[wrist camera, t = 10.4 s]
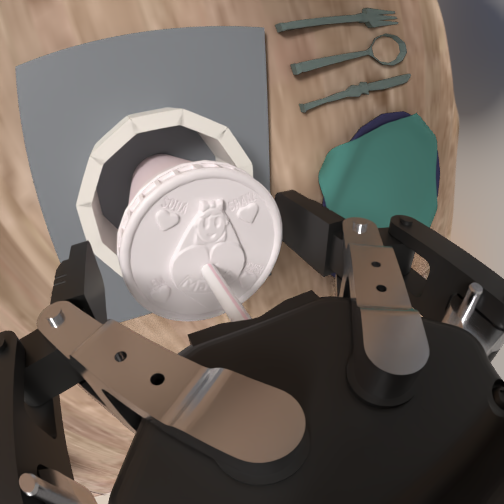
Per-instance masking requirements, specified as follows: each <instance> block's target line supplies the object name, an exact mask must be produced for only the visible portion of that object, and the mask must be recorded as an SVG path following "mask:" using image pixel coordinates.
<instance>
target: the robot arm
mask: <svg viewBox="0 0 504 504" xmlns="http://www.w3.org/2000/svg"><path fill="white" fill-rule="evenodd" d="M275 202H276V204H277V206H278V209H279V212H280V215H281V220H282V241H283V242H284V243H285V244H287V245H288V246H289V247H290V248H291V249H292V250H293V251H295V252H296V253H297V254H298V255H299V256H300V257H301V258H303V259H304V260H305V261H306V262H307V263H308V264H309V265H310V266H312V267H313V268H314V269H315V270H316V271H317V272H318V273H319V274H321V275H322V276H323V277H325V276H327V275H330V274H332V273H336V276H335V297H320V298H319V297H318V296H317V295H316V294H315V293H314V292H313V291H312V290H311V291H308V292H305V293H303V294H300V295H298V296H295V297H293V298H290V299H287V300H285V301H283V302H282V303H280V304H279V305H277V306H276V307H274V308H273V309H271V310H270V311H268V312H266V313H265V314H263V315H262V316H260V317H258V318H254V319H248V320H241V321H235V322H228V323H221V324H218V325H215V326H212V327H209V328H206V329H203V330H200V331H197V332H194V333H191V334H188V337H189V341H190V344H191V345H190V346H188V347H187V348H185V349H184V350H182V351H181V352H180V353H178V354H176V353H174V352H172V351H170V350H168V349H166V348H164V347H162V346H160V345H159V344H157V343H155V342H153V341H151V340H149V339H147V338H145V337H143V336H142V335H140V334H138V333H136V332H134V331H133V330H131V329H129V328H127V327H126V326H124V325H122V324H120V323H119V322H117V321H115V320H113V319H108V320H107V312H106V299H105V287H104V282H103V278H102V275H101V272H100V269H99V267H98V264H97V261H96V258H95V256H94V253H93V250H92V247H91V244H90V242H89V241H88V240H87V241H84V242H81V243H78V244H74V245H71V249H70V255H69V259H67V260H64V261H62V263H61V264H60V265H59V267H58V268H57V270H56V275H55V280H54V286H53V291H52V297H51V303H50V305H49V306H47V307H46V308H45V309H44V310H43V311H42V312H41V313H40V315H39V316H38V319H37V328H38V329H36V330H35V331H33V332H32V333H30V334H28V335H27V336H25V337H23V338H21V339H20V340H19V339H18V337H17V336H16V334H15V333H14V332H12V331H3V332H1V333H0V504H97V502H96V500H95V498H94V496H93V495H92V493H91V492H90V491H89V490H88V489H87V488H86V487H85V486H83V485H81V484H79V483H78V482H76V481H74V477H73V473H72V469H71V465H70V460H69V456H68V451H67V445H66V440H65V434H64V428H63V421H62V414H61V406H60V397H59V394H61V393H62V392H64V391H66V390H68V389H69V388H71V387H73V386H74V385H76V384H77V385H78V386H79V387H81V388H82V389H83V390H84V391H85V392H86V393H87V394H88V395H90V396H91V397H92V398H93V399H94V400H95V401H97V402H98V403H99V404H100V405H101V406H103V407H104V408H105V409H106V410H107V411H109V412H110V413H111V414H112V415H113V416H115V417H116V418H117V419H118V420H119V421H120V422H121V423H122V424H123V425H124V426H126V427H127V428H128V429H129V430H130V431H132V432H133V433H134V434H135V436H134V439H133V441H132V443H131V446H130V448H129V450H128V453H127V455H126V457H125V460H124V462H123V465H122V467H121V469H120V472H119V474H118V477H117V479H116V482H115V484H114V486H113V489H112V491H111V494H110V498H109V503H108V504H504V381H503V380H502V379H501V378H500V376H499V375H498V374H497V372H496V371H495V369H494V367H493V366H492V364H491V361H492V360H493V358H494V357H495V356H496V354H497V352H498V351H499V350H500V348H501V347H502V345H503V344H504V279H503V278H502V277H500V276H499V275H498V274H496V273H495V272H494V271H492V270H491V269H490V268H488V267H487V266H486V265H484V264H483V263H482V262H480V261H479V260H477V259H476V258H474V257H473V256H472V255H470V254H469V253H467V252H466V251H464V250H463V249H461V248H460V247H459V246H457V245H455V244H454V243H452V242H451V241H449V240H448V239H446V238H445V237H443V236H442V235H440V234H439V233H437V232H436V231H434V230H432V229H431V228H429V227H428V226H426V225H424V224H423V223H421V222H419V221H418V220H416V219H414V218H412V217H409V216H406V215H394V216H392V217H391V219H390V224H389V227H385V228H377V225H376V224H375V223H374V222H372V221H370V220H368V219H365V218H360V217H351V218H347V219H345V218H343V217H342V216H340V215H338V214H337V213H335V212H333V211H332V210H329V209H328V208H327V207H325V206H323V205H322V204H320V203H318V202H316V201H314V200H311V199H308V198H307V197H305V196H303V195H301V194H300V193H298V192H296V191H294V190H289V191H284V192H279V193H277V194H276V195H275ZM415 252H416V253H417V254H419V255H420V256H421V257H423V258H424V259H425V260H427V262H428V263H429V266H430V273H429V276H428V278H427V280H426V279H425V278H424V277H422V276H421V275H420V274H418V273H417V272H416V271H415V270H413V269H412V268H411V265H412V261H413V258H414V254H415ZM412 307H413V308H414V309H413V308H412ZM420 314H421V315H422V316H423V317H424V318H423V317H421V316H420Z"/></svg>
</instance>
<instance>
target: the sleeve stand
mask: <svg viewBox="0 0 504 504" xmlns="http://www.w3.org/2000/svg"><path fill="white" fill-rule="evenodd" d="M16 82H17V94H18V103H19V111H20V118H21V124H22V130H23V136H24V142H25V147H26V152H27V156H28V161H29V165H30V169H31V174H32V178H33V181H34V185H35V189H36V193H37V196H38V200H39V203H40V206H41V210H42V213H43V216H44V219H45V222H46V225H47V228H48V231H49V234H50V237H51V239H52V242H53V245H54V247H55V250H56V253H57V255H58V258H59V260H60V263H62V261H64V260H67V259H69V255H70V249H71V245H74V244H78V243H81V242H84V241H87V240H88V241H89V242H90V244H91V247H92V250H93V253H94V256H95V258H96V261H97V264H98V267H99V269H100V272H101V275H102V278H103V282H104V287H105V299H106V312H107V320H108V319H113V320H115V321H117V322H123V321H126V320H130V319H133V318H136V317H140V316H143V315H146V314H150V313H152V312H150V311H149V310H147V309H145V308H144V307H143V306H142V305H141V304H139V303H138V302H137V301H136V300H135V298H134V297H133V296H132V294H131V293H130V291H129V290H128V288H127V286H126V284H125V282H124V279H123V276H122V272H121V268H120V265H119V261H118V257H117V232H118V229H119V226H120V223H121V220H122V217H123V214H124V212H125V210H126V208H127V207H128V204H129V195H130V188H131V180H132V176H133V173H134V171H135V169H136V167H137V166H138V165H139V164H140V163H141V162H142V161H143V160H144V159H146V158H148V157H150V156H152V155H156V154H167V155H171V156H174V157H178V158H182V159H185V160H189V161H192V162H195V161H201V160H209V161H217V162H225V163H229V164H231V165H233V166H235V167H238V168H240V169H242V170H244V171H246V172H247V173H248V174H250V175H251V176H252V177H253V178H254V179H255V180H257V181H258V182H260V183H261V184H262V185H263V186H264V187H265V188H266V189H267V190H268V191H269V193H270V168H269V132H268V103H267V77H266V54H265V34H264V28H262V27H241V26H206V27H186V28H173V29H163V30H154V31H146V32H139V33H133V34H127V35H121V36H116V37H111V38H106V39H101V40H97V41H93V42H89V43H85V44H81V45H77V46H74V47H70V48H67V49H63V50H60V51H57V52H54V53H51V54H48V55H45V56H42V57H39V58H36V59H34V60H31V61H28V62H26V63H23V64H21V65H18V66H16ZM270 275H271V272H270V274H269V276H270Z"/></svg>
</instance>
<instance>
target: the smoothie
mask: <svg viewBox="0 0 504 504" xmlns="http://www.w3.org/2000/svg"><path fill="white" fill-rule="evenodd" d="M281 243H282V220H281V215H280V212H279V209H278V206H277V204H276V202H275V200H274V198H273V197H272V195H271V194H270V193H269V191H268V190H267V189H266V188H265V187H264V186H263V185H262V184H261V183H260V182H258V181H257V180H255V179H254V178H253V177H252V176H251V175H250V174H248V173H247V172H246V171H244V170H242V169H240V168H238V167H235V166H233V165H231V164H229V163H225V162H217V161H209V160H201V161H195V162H192V161H189V160H185V159H182V158H178V157H174V156H171V155H167V154H156V155H152V156H150V157H148V158H146V159H144V160H143V161H142V162H141V163H140V164H139V165H138V166H137V167H136V169H135V171H134V173H133V176H132V180H131V188H130V195H129V204H128V207H127V208H126V210H125V212H124V214H123V217H122V220H121V223H120V226H119V229H118V232H117V257H118V261H119V265H120V268H121V272H122V276H123V279H124V282H125V284H126V286H127V288H128V290H129V291H130V293H131V294H132V296H133V297H134V298H135V300H136V301H137V302H138V303H139V304H141V305H142V306H143V307H144V308H145V309H147V310H149V311H150V312H152V313H154V314H156V315H158V316H161V317H163V318H167V319H170V320H176V321H199V320H205V319H209V318H213V317H216V316H219V315H221V314H224V313H226V314H227V316H228V317H229V319H230V320H231V322H235V321H241V320H248V319H252V318H251V317H250V315H249V314H248V312H247V311H246V310H245V308H244V307H243V305H242V303H243V302H245V301H246V300H247V299H248V298H249V297H250V296H252V295H253V294H254V293H255V292H256V291H257V290H258V289H259V288H260V286H261V285H262V284H263V283H264V282H265V280H266V279H267V277H268V276H269V274H270V272H271V271H272V269H273V267H274V265H275V263H276V260H277V258H278V255H279V252H280V248H281Z"/></svg>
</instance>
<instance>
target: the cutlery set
mask: <svg viewBox="0 0 504 504" xmlns="http://www.w3.org/2000/svg"><path fill="white" fill-rule="evenodd" d="M394 13H395V11H385V10H378V9H371V8H364V9H362V13H359V14H356V15H346V16H334V17H323V18H314V19H305V20H298V21H292V22H288V23H279V24H276V25H275V26H276V29H277V32H281V31H284V30H292V29H297V28H304V27H311V26H318V25H326V24H336V23H347V22H359V23H365V24H366V26H367V27H368V28H371V27H378V26H385V25H393V24H398V22H390V21H379V20H387V19H397V18H396V17H393V16H383V15H380V14H394ZM381 36H387V37H391V38H393V39H394V40H395V41H396V42H397V43H398V44H399V49H400V53H399V55H398V56H397V58H396V60H394V61H392V62H390V63H386V62H380V61H379V60H378V59H377V58H375V57H374V55H373V51H372V45H373V43H374V42H375V40H376V39H377V38H379V37H381ZM381 36H379V37H376V38H375V39H374V40H373V42H372V44H371V46H370V48H368V49H367V50H366V51H360V52H354V53H347V54H341V55H336V56H330V57H325V58H320V59H315V60H310V61H305V62H301V63H297V64H290V65H291V69H292V72H293V75H298V74H300V73H301V72H306V71H310V70H313V69H316V68H320V67H323V66H327V65H330V64H334V63H338V62H341V61H345V60H349V59H353V58H357V57H361V56H365V55H370V56H372V57H374V58H375V59H376V60H377V61H378V62H380V63H381V64H384V65H395V64H397V63H399V62H401V61H403V59H404V57H405V55H406V53H407V50H406V45H405V43H404V42H403V41H402V40H401V39H400V38H399V37H397V36H395V35H390V34H384V35H381ZM410 76H411V74H405V75H400V76H396V77H392V78H388V79H384V80H380V81H376V82H372V83H369V84H367V82H360V83H359V85H358V86H356V85H351V86H350V87H349V88H347V89H346V90H345V91H342V92H339V93H336V94H333V95H331V96H328V97H326V98H323V99H320V100H316V101H313V102H309V103H306V104H299V106H300V110H301V112H306V111H307V110H308V109H311V108H313V107H316V106H318V105H321V104H323V103H326V102H330V101H334V100H339V99H342V98H345V97H360V95H361V94H368V95H369V91H368V90H381V89H386V88H389V87H393V86H397V85H400V84H404V83H406V82H407V81H408V80H409V78H410ZM439 179H440V167H439V157H438V150H437V140H436V136H435V135H434V134H433V132H432V131H431V130H430V129H429V127H428V126H427V125H426V123H425V122H424V121H423V120H422V118H421V117H420V116H419V115H418V114H417V113H416V114H414V115H410V114H408V113H406V112H404V111H402V112H393V113H385V114H381V115H379V116H378V117H376V118H375V119H373V120H371V121H370V122H368V123H367V124H365V125H364V126H362V127H361V128H360V129H359V130H358V131H357V133H356V134H355V135H354V137H353V138H352V139H351V140H350V142H348V143H345V144H342V145H339V146H337V147H335V148H333V149H332V150H331V151H330V152H329V153H328V154H327V156H326V158H325V160H324V163H323V165H322V167H321V169H320V172H319V184H320V187H321V190H322V193H323V195H324V198H323V203H322V205H323V206H325V207H327V208H328V209H329V210H332V211H333V212H335V213H337V214H338V215H340V216H342V217H343V218H345V219H347V218H351V217H360V218H365V219H368V220H370V221H372V222H374V223H375V224H376V225H377V228H385V227H389V224H390V219H391V217H392V216H394V215H406V216H409V217H412V218H414V219H416V220H418V221H419V222H421V223H423V224H424V225H426V226H428V227H429V228H430V226H431V224H432V221H433V219H434V216H435V214H436V211H437V196H438V189H439ZM331 275H332V276H333V277H335V276H336V273H332V274H331Z"/></svg>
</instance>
